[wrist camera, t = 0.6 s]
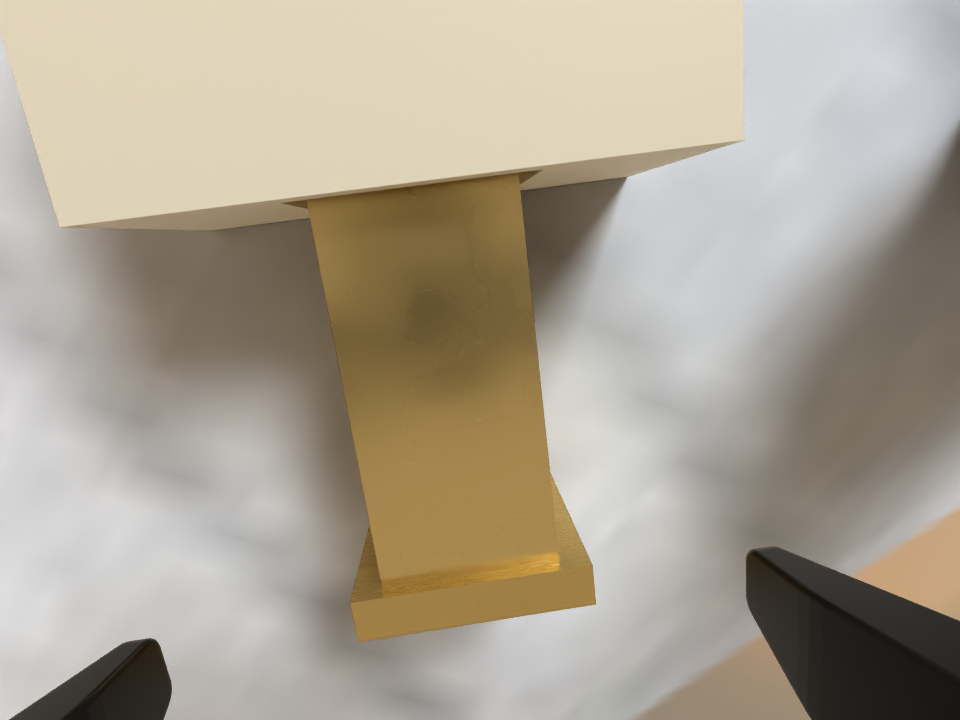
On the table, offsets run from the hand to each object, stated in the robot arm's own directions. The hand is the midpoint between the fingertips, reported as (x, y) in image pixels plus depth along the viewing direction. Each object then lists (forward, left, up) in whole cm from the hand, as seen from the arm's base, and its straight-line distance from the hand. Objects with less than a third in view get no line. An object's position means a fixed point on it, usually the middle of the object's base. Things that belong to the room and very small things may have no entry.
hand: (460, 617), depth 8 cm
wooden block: (0, -4, -11) cm, 12 cm away
